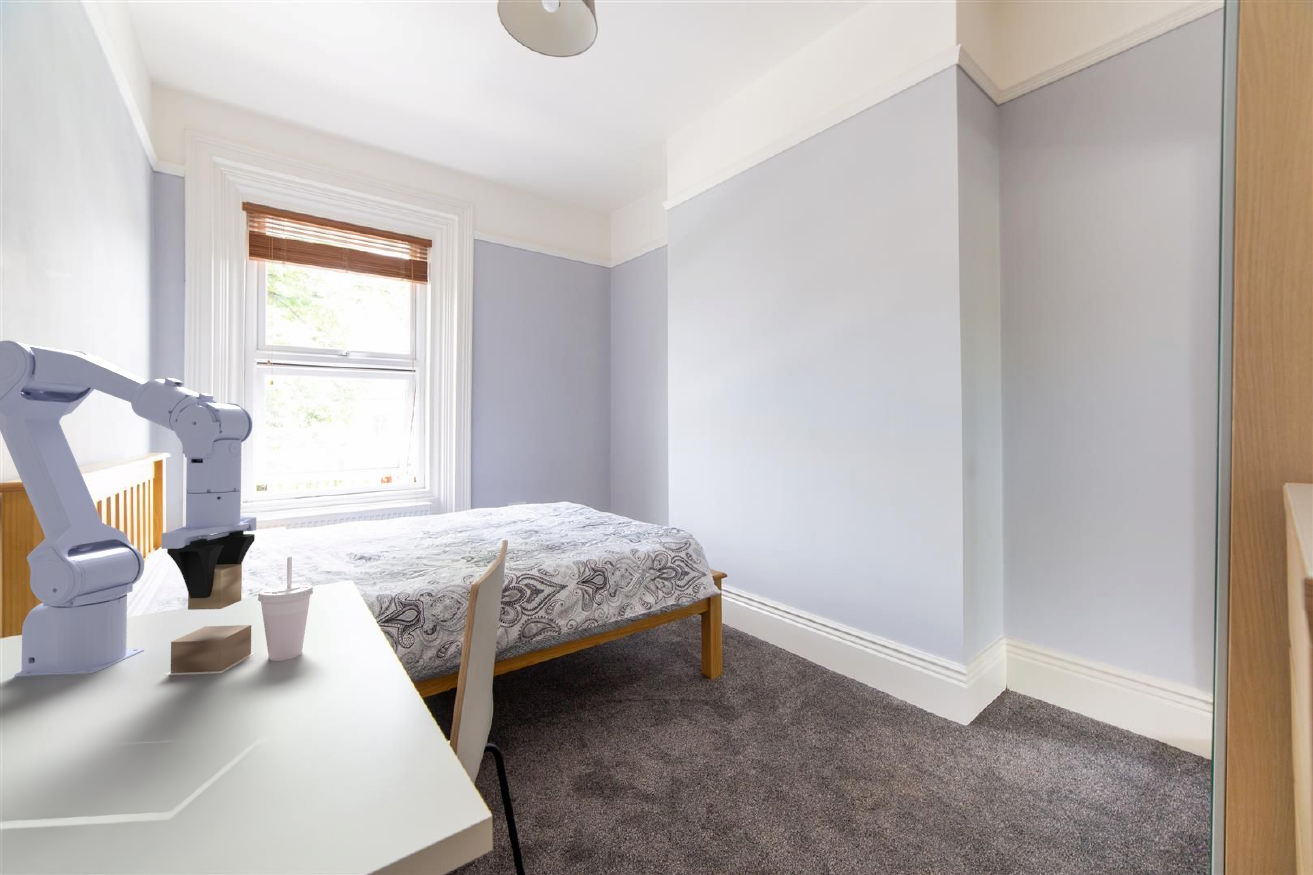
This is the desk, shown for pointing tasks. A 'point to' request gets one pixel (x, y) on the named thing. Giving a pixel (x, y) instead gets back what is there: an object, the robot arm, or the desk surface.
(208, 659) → the walnut block
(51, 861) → the desk surface
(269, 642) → the smoothie
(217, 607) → the oak block
